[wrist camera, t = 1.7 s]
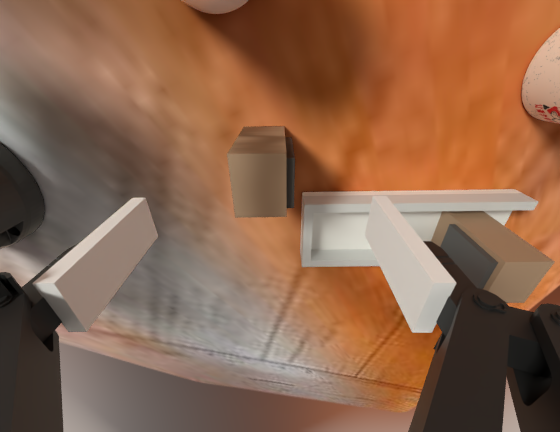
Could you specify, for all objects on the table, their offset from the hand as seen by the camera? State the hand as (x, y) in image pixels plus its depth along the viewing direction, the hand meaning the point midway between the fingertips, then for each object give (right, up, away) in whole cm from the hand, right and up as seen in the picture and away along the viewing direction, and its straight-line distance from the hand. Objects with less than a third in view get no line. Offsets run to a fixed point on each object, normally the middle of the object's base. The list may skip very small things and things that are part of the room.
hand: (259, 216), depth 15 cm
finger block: (0, +7, +11) cm, 13 cm away
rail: (+16, -1, +15) cm, 22 cm away
